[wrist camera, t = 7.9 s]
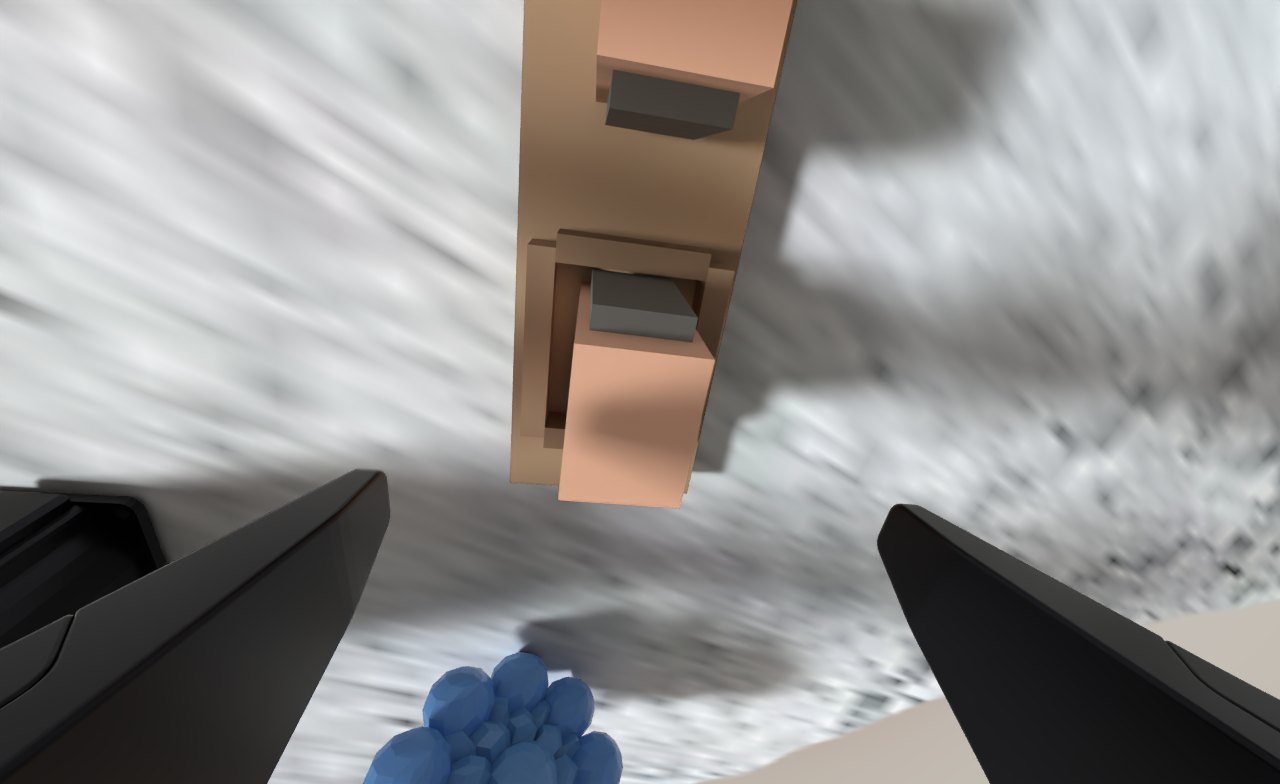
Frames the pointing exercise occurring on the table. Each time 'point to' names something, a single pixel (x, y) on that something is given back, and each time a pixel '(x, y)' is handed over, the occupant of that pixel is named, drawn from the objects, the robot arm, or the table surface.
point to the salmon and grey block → (633, 393)
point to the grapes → (502, 732)
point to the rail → (631, 174)
